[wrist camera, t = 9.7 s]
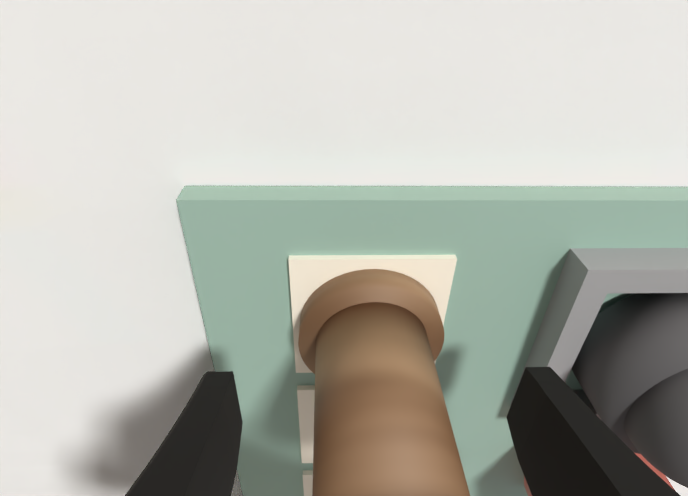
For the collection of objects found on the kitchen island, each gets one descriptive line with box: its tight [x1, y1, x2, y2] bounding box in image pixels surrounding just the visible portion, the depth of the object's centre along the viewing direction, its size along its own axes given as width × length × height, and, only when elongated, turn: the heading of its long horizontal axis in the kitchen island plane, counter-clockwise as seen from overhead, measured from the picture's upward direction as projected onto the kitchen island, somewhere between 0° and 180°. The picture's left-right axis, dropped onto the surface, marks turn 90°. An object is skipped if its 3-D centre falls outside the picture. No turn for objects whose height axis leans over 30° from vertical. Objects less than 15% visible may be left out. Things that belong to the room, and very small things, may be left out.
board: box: [176, 186, 688, 496], centre depth 16 cm, size 18×18×2 cm
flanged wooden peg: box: [298, 269, 470, 496], centre depth 11 cm, size 4×4×6 cm
